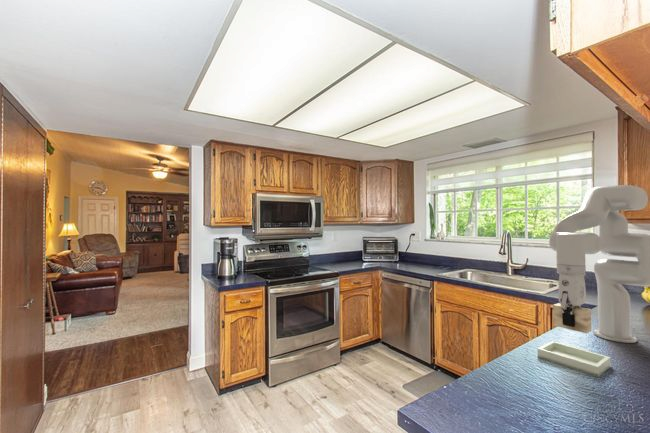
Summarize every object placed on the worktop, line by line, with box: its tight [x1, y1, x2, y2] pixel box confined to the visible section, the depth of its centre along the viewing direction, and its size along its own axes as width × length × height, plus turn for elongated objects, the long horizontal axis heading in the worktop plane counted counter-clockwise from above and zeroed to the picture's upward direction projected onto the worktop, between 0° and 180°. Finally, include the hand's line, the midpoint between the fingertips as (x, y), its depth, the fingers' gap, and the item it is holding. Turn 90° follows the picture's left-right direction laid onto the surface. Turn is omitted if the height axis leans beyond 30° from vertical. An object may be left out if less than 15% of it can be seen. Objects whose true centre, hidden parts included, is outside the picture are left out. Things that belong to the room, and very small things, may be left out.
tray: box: [536, 340, 612, 378], centre depth 100 cm, size 12×16×3 cm
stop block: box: [552, 302, 592, 334], centre depth 100 cm, size 9×4×7 cm, turn 33°
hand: (571, 323), depth 100 cm, fingers closed on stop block, 4 cm apart
